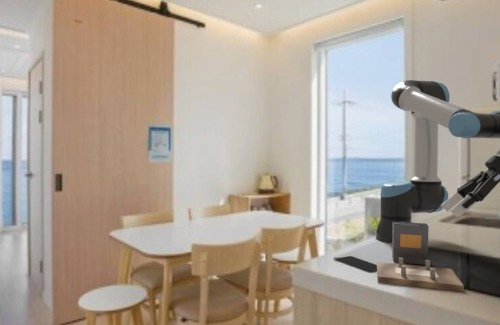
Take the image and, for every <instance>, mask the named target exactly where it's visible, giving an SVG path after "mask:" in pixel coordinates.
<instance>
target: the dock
mask: <svg viewBox="0 0 500 325" xmlns="http://www.w3.org/2000/svg"><path fill="white" fill-rule="evenodd" d="M376 265H377V272H376V276H377V283H382V284H391V285H392V284H393V285H400V286H401V285H403V286H411V287H419V288H426V289H427V288H428V289H438V290H445V291H453V292H464V291H465V286H464V284H463V283H462V281H461V279H459V277H458V275H456V273H455V272H454V271H453V269H452V268H446V267H436V266H435V267H434V266H431V260H429V259H428V260H425V265H424V266H423V265H416V264H406V263H403V258H399V262H398V263H395V262H382V261H381V262H380V261H376Z"/></svg>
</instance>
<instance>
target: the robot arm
mask: <svg viewBox="0 0 500 325" xmlns="http://www.w3.org/2000/svg"><path fill="white" fill-rule="evenodd" d="M390 98H391V101H392V103H393V105H394V106H395V107H396V108H398V109H400V110H402V111H404V112H410V115H411V117H413V118H414V162H413V163H414V169H413V170H414V174H413V175H414V176H412V177H411V178H410V180H409V181H407V180H401V181H390V182H389V181H388V182H385V183H383V184H382V185H381V188H380V193H379V194H380V195H379V196H380V219H379V222H378V225H377V229H376V231H375V238H376V239H377V240H378V241H381V242H386V243H392V238H393V222H409V223H413V222H412V216H413V215H412V214H421V213H422V214H423V213H427V214H431V213H438V212H440V211H441V212H442V210H443V209H444V210H445V211H446V212H447V213H448V212H450V213H452V215H453V216H455V217H456V218H459V217H460V216H462V215H463V214H465V213H466V212H467V211H468V210H469V209H470V208H471V207H473V206H474V205H475V204H476V203H479V202H482V201H484V199H485V198H486V197H487V196H488V195H489V194H490V193H491V192H492V191H493V189H495V188H496V187H497V185H498V184H499V183H500V149H499V150H498V151H497V152H495V154H496V155H492V156H491V157H490V158H488V160H486V161H485V163H484V166H485V167H486V168H487V170H486V171H484V170H482V171H480V172H479V173H478V174H476V175H475V176H473V178H471V179H469V180H468V181H467V182H465V183H464V184H463V185H460V186H459V187H458V188H457V189H456V192H455V193H453V194H452V195H451V196H450V197H449V192H448V191H447V187H445V186H444V185H443V184H442V180H441V178H439V176H438V165H439V164H438V157H439V155H438V152H439V150H438V147H439V146H438V145H439V144H438V143H439V125H441V126H442V127H444V128H446V129H448V131H449V132H450V134H451V135H452V136H453V137H456V138H461V139H500V110H493V111H491V112H488V113H480V112H479V113H478V112H474V111H472V110H468V109H466V108H463V107H461V106H459V105H456V104H453V103H451V102H450V92H449V89H448V87H447V86H446V85H445V84H444V83H442V82H438V81H434V80H431V81H430V80H413V79H409V80H408V79H407V80H403V81H400V82H398V83H397V84H396V85H395V86H394V87H393V89H392V90H391V95H390Z"/></svg>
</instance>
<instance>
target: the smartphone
mask: <svg viewBox="0 0 500 325" xmlns="http://www.w3.org/2000/svg"><path fill="white" fill-rule="evenodd" d="M335 261H337V262H338V263H341V264H344V265H347V266H349V267H353V268H355V269H357V270H360V271H363V272H366V273H369V274H370V273H377V263H376V264H375V263H372V262H369V261H367V260H365V259H361V258H358V257H355V256H353V255H348V256H343V257H342V256H341V257H337V258H335Z"/></svg>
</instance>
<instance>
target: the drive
mask: <svg viewBox="0 0 500 325" xmlns="http://www.w3.org/2000/svg"><path fill="white" fill-rule="evenodd" d="M429 231H430V230H429V225H428V224H427V223H423V222H422V223H421V222H412V223H409V222H393V238H392V248H391V256H392V257H391V258H393V259H392V262H393V261H394V262H393V263H399V258H403V264H413V263H414V264H413V265H424V264H425V260H429Z"/></svg>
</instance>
